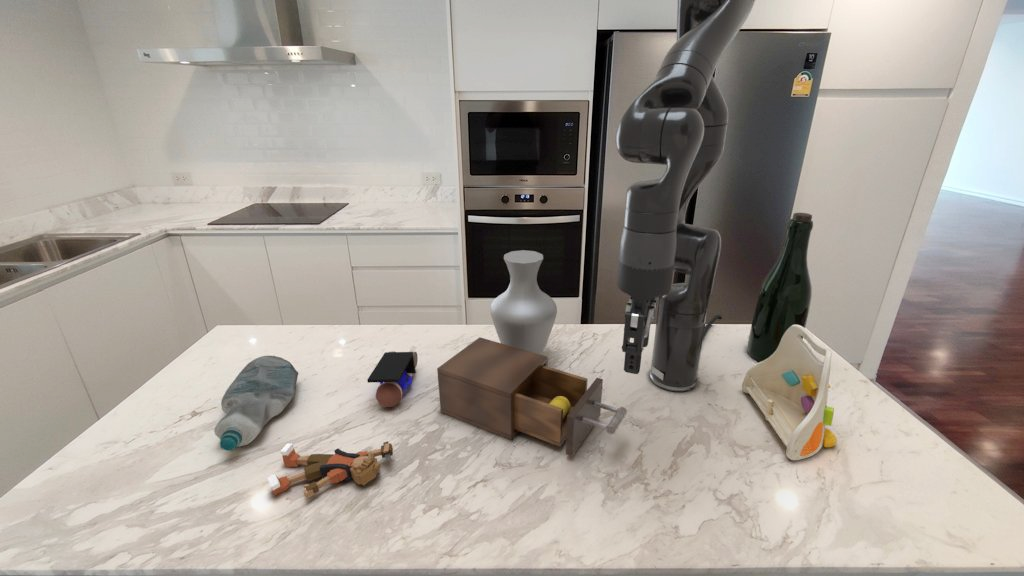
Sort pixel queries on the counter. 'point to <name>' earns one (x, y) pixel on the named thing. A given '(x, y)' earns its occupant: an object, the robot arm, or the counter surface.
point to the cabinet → (486, 384)
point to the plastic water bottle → (255, 399)
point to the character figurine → (330, 468)
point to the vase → (524, 305)
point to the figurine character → (393, 376)
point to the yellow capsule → (561, 404)
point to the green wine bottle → (783, 292)
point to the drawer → (548, 420)
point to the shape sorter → (795, 393)
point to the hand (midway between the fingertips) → (636, 358)
